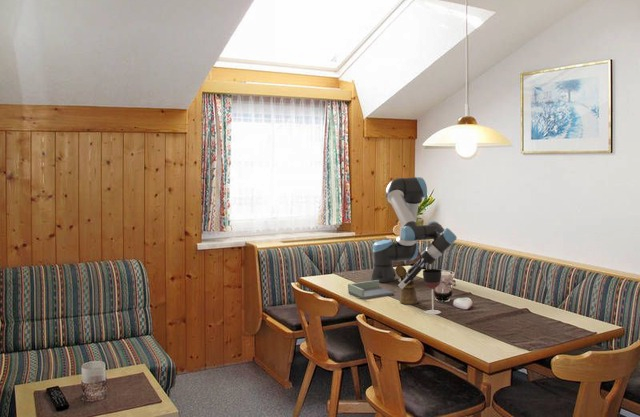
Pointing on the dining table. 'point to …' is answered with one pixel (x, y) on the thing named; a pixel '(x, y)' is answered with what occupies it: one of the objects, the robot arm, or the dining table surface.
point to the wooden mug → (406, 288)
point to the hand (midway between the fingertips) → (400, 284)
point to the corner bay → (367, 290)
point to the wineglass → (432, 284)
